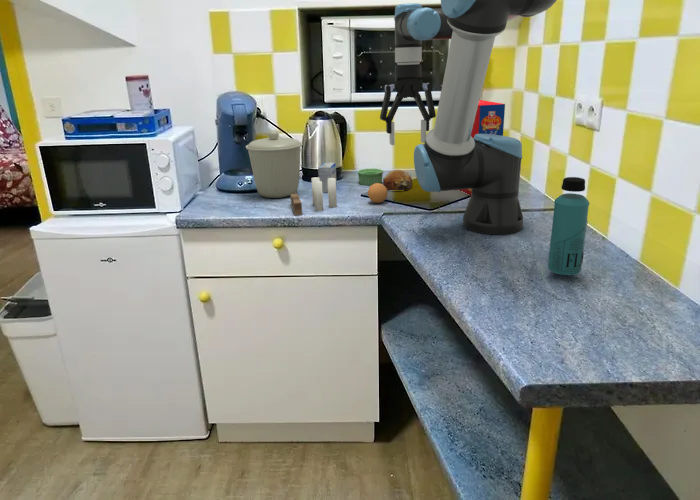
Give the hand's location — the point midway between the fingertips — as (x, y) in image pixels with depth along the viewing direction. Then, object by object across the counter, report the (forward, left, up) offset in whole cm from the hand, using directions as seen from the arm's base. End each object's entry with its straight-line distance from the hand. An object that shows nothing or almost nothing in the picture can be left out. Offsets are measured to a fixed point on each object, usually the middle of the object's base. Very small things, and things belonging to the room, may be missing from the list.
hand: (407, 143), depth 158 cm
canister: (+20, +39, -18) cm, 47 cm away
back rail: (0, +35, -17) cm, 39 cm away
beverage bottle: (-65, -12, -18) cm, 69 cm away
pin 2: (-2, +28, -17) cm, 33 cm away
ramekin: (+26, +6, -18) cm, 32 cm away
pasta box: (+9, -23, -18) cm, 31 cm away
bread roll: (+16, -1, -18) cm, 24 cm away
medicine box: (+21, +22, -18) cm, 35 cm away
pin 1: (+3, +28, -17) cm, 33 cm away
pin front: (0, +24, -17) cm, 29 cm away
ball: (0, +10, -14) cm, 17 cm away
